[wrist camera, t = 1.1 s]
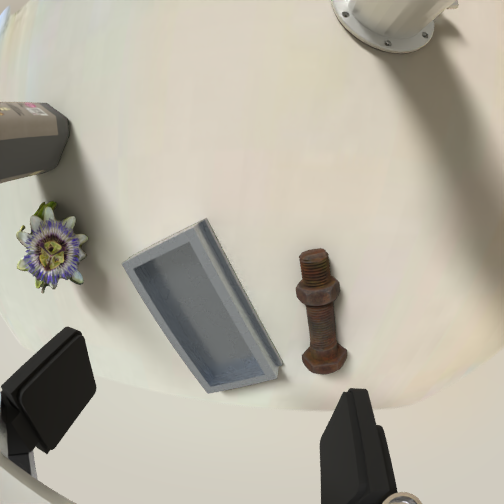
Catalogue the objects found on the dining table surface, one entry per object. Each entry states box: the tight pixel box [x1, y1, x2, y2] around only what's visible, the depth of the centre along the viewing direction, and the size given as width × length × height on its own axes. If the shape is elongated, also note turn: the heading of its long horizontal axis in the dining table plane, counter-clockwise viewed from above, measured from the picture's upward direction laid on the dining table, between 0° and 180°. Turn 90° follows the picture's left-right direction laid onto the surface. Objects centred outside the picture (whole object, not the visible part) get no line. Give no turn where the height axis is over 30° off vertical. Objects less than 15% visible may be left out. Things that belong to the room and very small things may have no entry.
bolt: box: [296, 248, 347, 374], centre depth 33 cm, size 6×5×15 cm
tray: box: [122, 218, 283, 393], centre depth 36 cm, size 12×22×3 cm, turn 25°
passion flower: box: [16, 201, 88, 293], centre depth 34 cm, size 11×11×12 cm
